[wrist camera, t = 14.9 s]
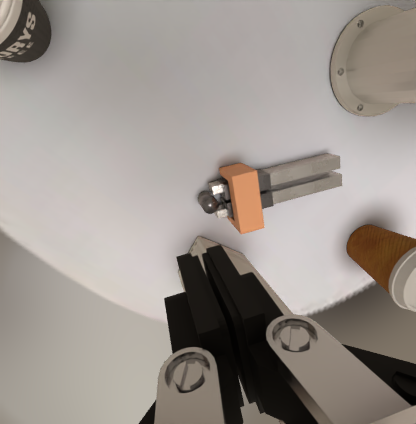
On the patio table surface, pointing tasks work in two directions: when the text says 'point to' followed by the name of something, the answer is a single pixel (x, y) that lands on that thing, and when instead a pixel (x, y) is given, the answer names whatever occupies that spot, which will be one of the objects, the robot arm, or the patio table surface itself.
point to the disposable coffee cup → (387, 261)
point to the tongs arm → (288, 191)
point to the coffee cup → (23, 30)
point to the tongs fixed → (272, 177)
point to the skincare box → (241, 266)
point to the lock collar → (244, 197)
